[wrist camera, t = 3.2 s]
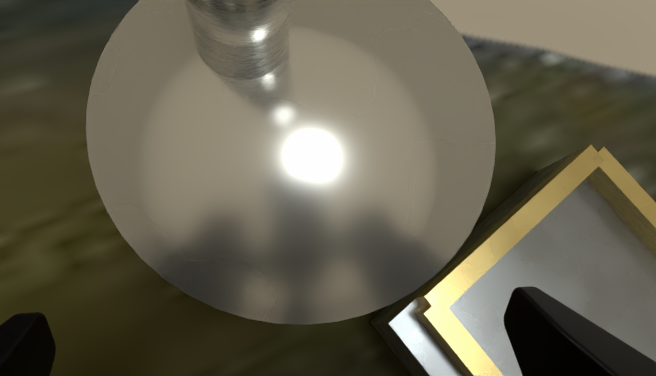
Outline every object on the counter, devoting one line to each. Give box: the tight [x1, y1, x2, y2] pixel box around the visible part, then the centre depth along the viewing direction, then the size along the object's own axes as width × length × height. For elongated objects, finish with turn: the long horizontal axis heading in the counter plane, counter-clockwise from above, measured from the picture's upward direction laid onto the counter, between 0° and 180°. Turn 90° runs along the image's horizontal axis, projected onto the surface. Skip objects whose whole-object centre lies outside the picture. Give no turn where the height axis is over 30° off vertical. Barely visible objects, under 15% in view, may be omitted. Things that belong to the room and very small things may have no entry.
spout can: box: [86, 0, 496, 325], centre depth 12 cm, size 6×6×15 cm
